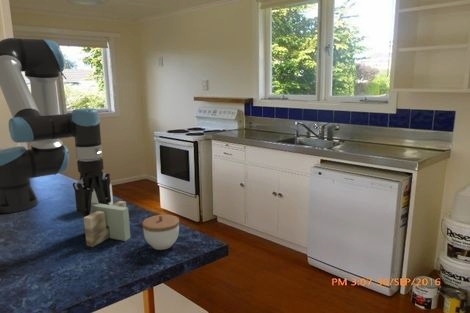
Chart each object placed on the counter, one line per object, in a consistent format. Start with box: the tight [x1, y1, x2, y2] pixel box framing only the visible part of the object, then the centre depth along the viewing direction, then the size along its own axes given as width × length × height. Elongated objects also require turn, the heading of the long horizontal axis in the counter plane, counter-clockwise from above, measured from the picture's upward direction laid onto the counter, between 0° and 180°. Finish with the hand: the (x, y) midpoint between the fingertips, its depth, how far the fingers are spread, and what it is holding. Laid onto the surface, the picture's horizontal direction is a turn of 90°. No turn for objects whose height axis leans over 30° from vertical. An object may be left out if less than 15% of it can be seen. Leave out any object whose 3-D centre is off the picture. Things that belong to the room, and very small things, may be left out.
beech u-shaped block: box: [83, 200, 127, 248], centre depth 116 cm, size 16×2×9 cm, turn 157°
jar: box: [87, 177, 114, 205], centre depth 141 cm, size 9×8×12 cm
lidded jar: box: [142, 214, 180, 251], centre depth 109 cm, size 11×11×9 cm
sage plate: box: [90, 202, 131, 242], centre depth 116 cm, size 16×2×10 cm, turn 67°
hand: (97, 228), depth 118 cm, fingers open, 5 cm apart
